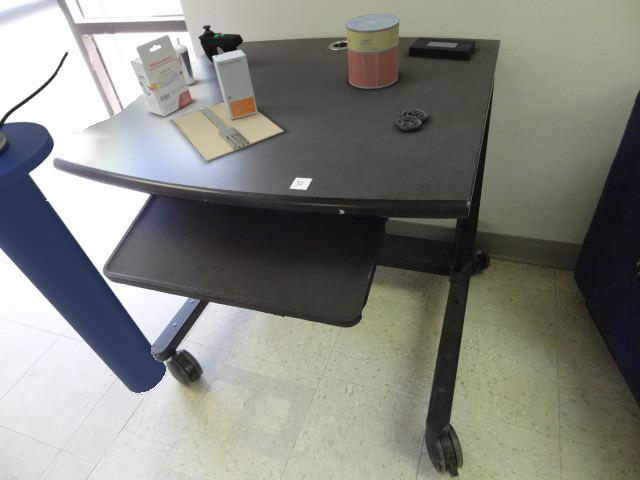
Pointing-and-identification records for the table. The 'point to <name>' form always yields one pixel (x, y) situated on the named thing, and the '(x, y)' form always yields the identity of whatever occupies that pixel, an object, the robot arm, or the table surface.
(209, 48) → the controller
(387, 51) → the canned food
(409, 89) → the table surface
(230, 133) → the fork
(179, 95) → the ink cartridge box
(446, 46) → the vhs tape
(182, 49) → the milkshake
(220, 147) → the placemat
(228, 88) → the cosmetic box
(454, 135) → the table surface
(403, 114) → the corroded twin loop
